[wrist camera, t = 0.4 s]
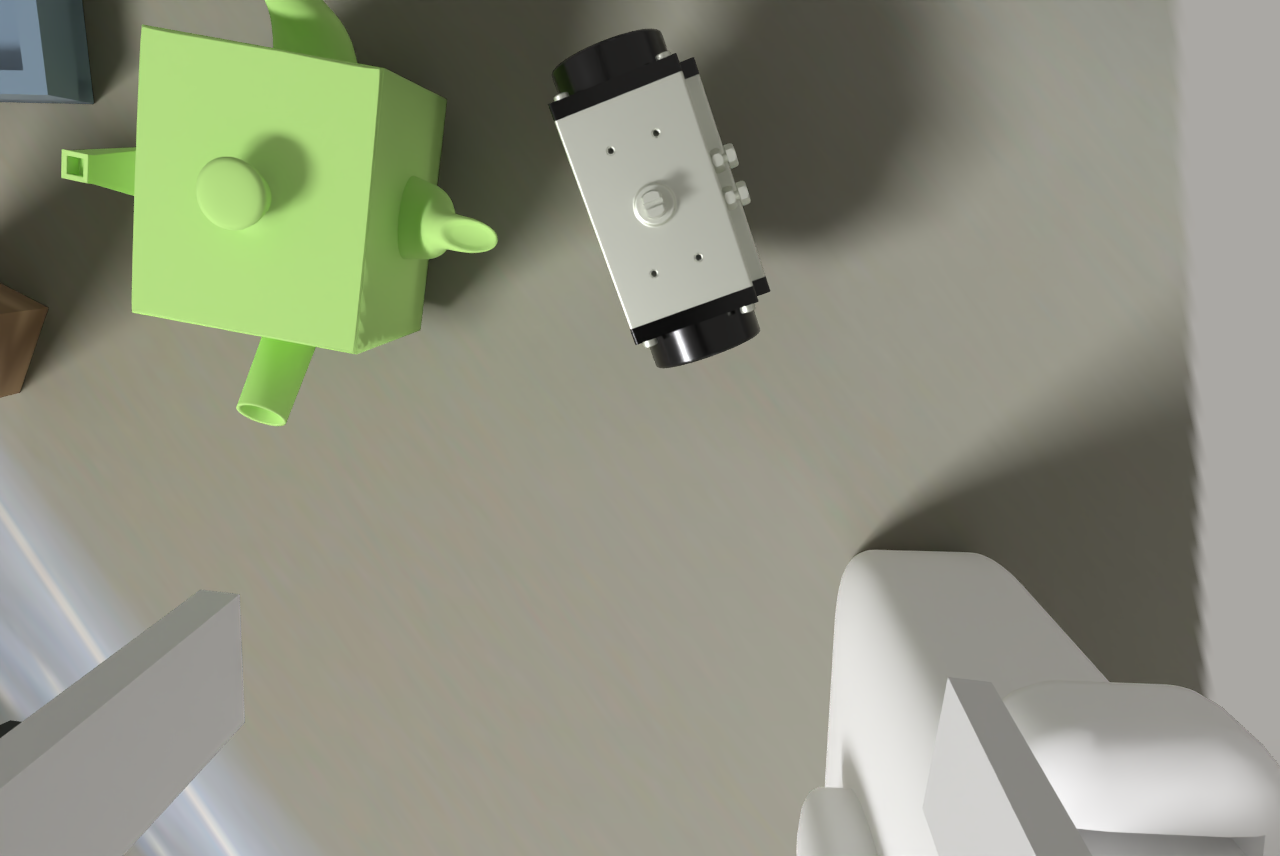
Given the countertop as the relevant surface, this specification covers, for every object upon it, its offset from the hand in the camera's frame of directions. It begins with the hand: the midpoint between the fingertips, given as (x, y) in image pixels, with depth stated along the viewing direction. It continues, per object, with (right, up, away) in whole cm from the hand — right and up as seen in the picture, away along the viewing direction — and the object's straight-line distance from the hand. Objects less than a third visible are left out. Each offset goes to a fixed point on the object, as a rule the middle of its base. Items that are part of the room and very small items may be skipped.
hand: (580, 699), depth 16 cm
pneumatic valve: (+3, +15, +25) cm, 29 cm away
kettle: (-12, +16, +26) cm, 33 cm away
